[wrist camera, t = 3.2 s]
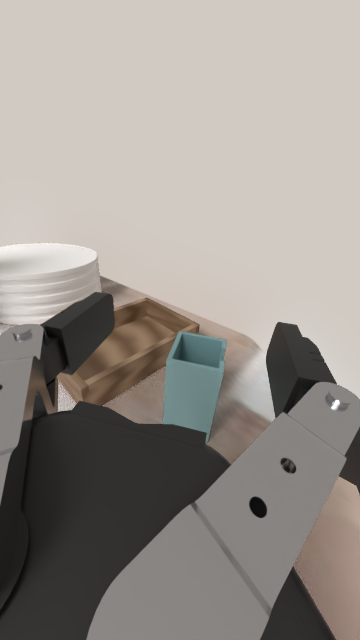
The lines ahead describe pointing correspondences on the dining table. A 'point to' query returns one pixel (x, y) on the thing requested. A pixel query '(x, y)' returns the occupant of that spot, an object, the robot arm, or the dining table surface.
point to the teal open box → (193, 381)
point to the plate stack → (44, 280)
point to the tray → (128, 351)
